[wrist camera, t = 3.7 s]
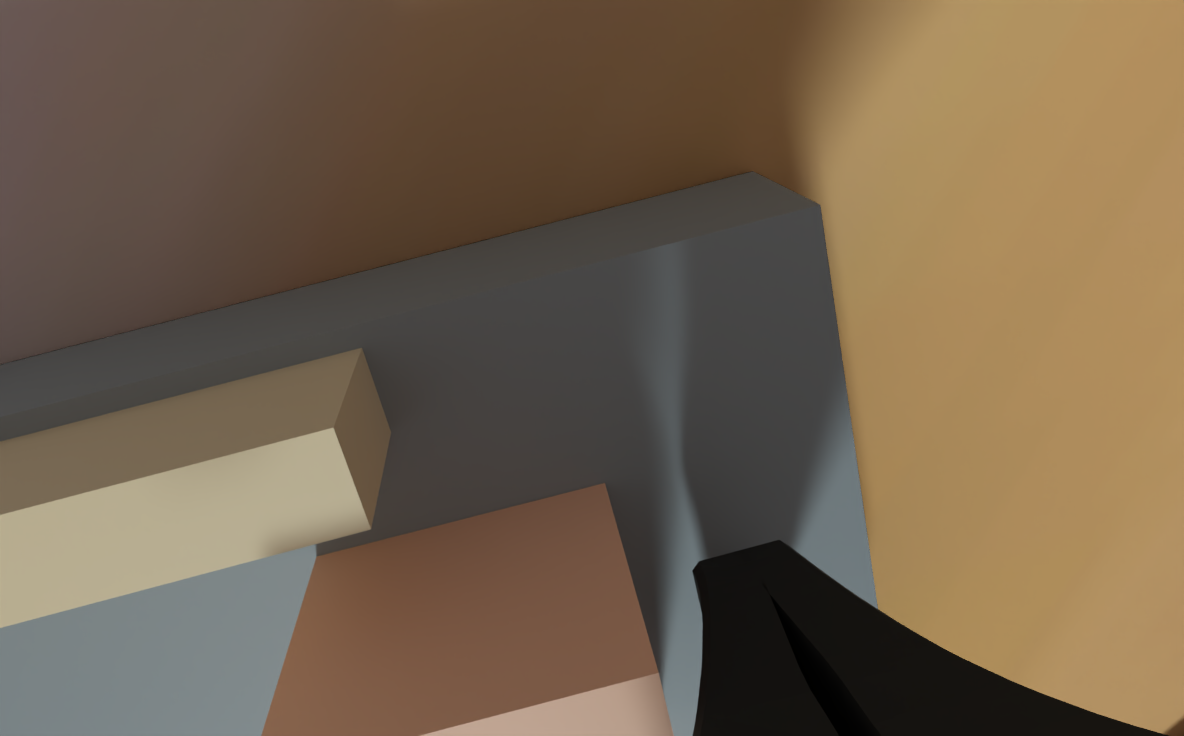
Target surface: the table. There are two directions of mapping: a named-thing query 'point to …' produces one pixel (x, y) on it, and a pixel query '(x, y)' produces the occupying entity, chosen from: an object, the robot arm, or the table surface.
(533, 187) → the table surface
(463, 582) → the terracotta block
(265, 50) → the table surface
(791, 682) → the robot arm
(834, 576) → the deck
